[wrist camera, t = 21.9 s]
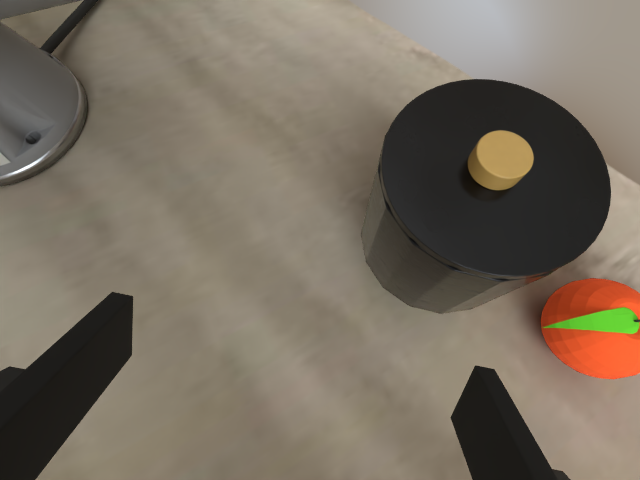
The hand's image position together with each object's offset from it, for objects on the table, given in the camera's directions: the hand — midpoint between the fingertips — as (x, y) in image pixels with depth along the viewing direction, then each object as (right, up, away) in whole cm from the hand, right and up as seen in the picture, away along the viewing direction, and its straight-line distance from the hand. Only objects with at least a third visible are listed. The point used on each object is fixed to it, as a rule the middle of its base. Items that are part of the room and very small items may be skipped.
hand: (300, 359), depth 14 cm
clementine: (+20, -3, +15) cm, 25 cm away
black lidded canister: (+9, +5, +13) cm, 17 cm away
